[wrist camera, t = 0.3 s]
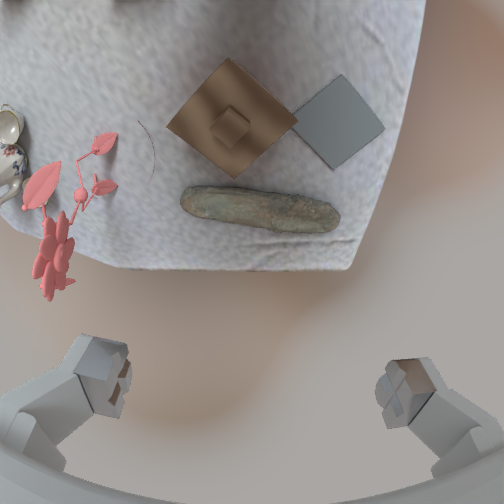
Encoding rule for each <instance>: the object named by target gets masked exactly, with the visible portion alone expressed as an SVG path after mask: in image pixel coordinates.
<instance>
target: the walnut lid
mask: <svg viewBox="0 0 504 504" xmlns="http://www.w3.org/2000/svg"><path fill="white" fill-rule="evenodd" d="M297 122H298V120H297V119H296V118H295V117H294V116H293V115H292V114H291V113H290V112H289V111H288V110H287V109H286V108H285V107H284V106H283V105H282V104H281V103H280V102H279V101H278V100H277V99H275V98H274V97H273V96H272V95H271V94H270V93H269V92H268V91H267V90H266V89H264V88H263V87H262V86H261V85H260V84H259V83H258V82H256V81H255V80H254V79H253V78H252V77H251V76H250V75H248V74H247V73H246V72H245V71H244V70H242V69H241V68H240V67H239V66H238V65H236V64H235V63H234V62H233V61H232V60H230V59H229V58H227V59H226V60H225V61H224V62H223V63H222V64H221V65H220V66H219V67H218V68H217V69H216V70H215V71H214V72H213V74H212V75H211V76H210V77H209V78H208V79H207V80H206V81H205V82H204V83H203V84H202V85H201V86H200V88H199V89H198V90H197V91H196V92H195V93H194V94H193V95H192V97H191V98H190V99H189V100H188V101H187V102H186V103H185V105H184V106H183V107H182V108H181V109H180V110H179V112H178V113H177V114H176V115H175V116H174V118H173V119H172V120H171V121H170V123H169V124H168V125H167V126H166V127H167V128H168V129H169V130H171V131H172V132H174V133H175V134H176V135H178V136H179V137H180V138H182V139H183V140H184V141H186V142H187V143H188V144H190V145H191V146H192V147H193V148H195V149H196V150H197V151H199V152H200V153H201V154H203V155H204V156H205V157H207V158H208V159H209V160H210V161H212V162H213V163H214V164H216V165H217V166H218V167H219V168H221V169H222V170H223V171H225V172H226V173H227V174H228V175H230V176H231V177H232V178H233V179H235V178H236V177H237V176H238V175H239V174H240V173H241V172H242V171H244V170H245V169H246V168H247V167H248V166H249V165H250V164H251V163H252V162H253V161H254V160H255V159H257V158H258V157H259V156H260V155H261V154H262V153H263V152H264V151H265V150H266V149H267V148H269V147H270V146H271V145H272V144H273V143H274V142H275V141H276V140H278V139H279V138H280V137H281V136H282V135H283V134H284V133H285V132H287V131H288V130H289V129H290V128H291V127H292V126H293V125H295V124H296V123H297Z"/></svg>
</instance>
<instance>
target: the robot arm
mask: <svg viewBox="0 0 504 504" xmlns="http://www.w3.org/2000/svg"><path fill="white" fill-rule="evenodd" d="M128 353H129V352H128V347H127V344H125V343H122V342H118V341H113V340H108V339H104V338H100V337H94V336H90V335H86V334H80V335H78V336H77V338H76V339H75V341H74V342H73V344H72V346H71V347H70V349H69V351H68V352H67V354H66V356H65V357H64V359H63V361H62V362H61V364H60V366H59V367H58V369H57V368H52V369H51V370H49V371H47V372H45V373H43V374H41V375H39V376H37V377H36V378H34V379H32V380H30V381H28V382H26V383H24V384H22V385H21V386H19V387H17V388H15V389H14V390H11V391H10V392H8V393H6V394H4V395H2V396H0V504H184V503H177V502H171V501H165V500H158V499H153V498H149V497H144V496H140V495H135V494H131V493H127V492H123V491H119V490H115V489H112V488H108V487H105V486H102V485H99V484H95V483H92V482H89V481H86V480H83V479H80V478H77V477H75V476H72V475H70V474H67V473H64V472H63V471H64V467H65V464H66V459H65V457H64V456H63V455H62V454H61V452H60V451H59V450H58V449H57V447H56V445H57V444H59V443H60V442H61V441H62V440H64V439H65V438H66V437H67V436H69V435H70V434H71V433H72V432H73V431H75V430H76V429H77V428H78V427H79V426H81V425H82V424H83V423H84V422H85V421H87V420H88V419H89V418H90V417H91V416H93V415H94V413H96V414H100V415H104V416H108V417H113V418H117V419H119V418H120V415H121V412H122V409H123V406H124V398H123V395H124V394H125V393H127V392H128V391H129V387H130V385H131V379H132V367H131V363H130V362H129V361H128V359H127V356H128ZM385 371H386V373H385V374H384V375H383V376H381V377H380V379H379V380H378V382H377V384H376V390H375V395H376V400H377V402H378V404H379V405H380V406H381V407H383V408H384V409H383V412H382V415H383V418H384V421H385V424H386V426H387V429H392V428H398V427H404V426H408V428H409V429H410V430H411V431H412V432H413V433H414V434H415V435H416V436H417V437H418V438H419V439H420V440H422V442H424V444H426V445H427V446H428V447H429V448H430V449H431V450H432V451H433V452H434V453H435V454H436V455H437V456H438V457H439V458H440V460H439V461H438V462H436V463H435V464H434V465H433V466H432V468H431V472H432V475H433V478H434V479H432V480H428V481H426V482H422V483H419V484H416V485H413V486H410V487H406V488H403V489H399V490H396V491H392V492H388V493H384V494H380V495H375V496H371V497H367V498H361V499H357V500H350V501H345V502H338V503H332V504H504V431H503V430H502V428H501V426H500V424H499V423H498V421H497V419H496V418H495V417H493V416H492V415H490V414H489V413H487V412H486V411H484V410H483V409H481V408H480V407H478V406H477V405H475V404H474V403H472V402H471V401H469V400H468V399H466V398H465V397H463V396H462V395H460V394H459V393H457V392H456V391H454V390H453V389H448V387H447V385H446V384H445V382H444V380H443V378H442V377H441V375H440V373H439V372H438V370H437V369H436V367H435V366H434V364H433V362H432V360H431V359H429V358H428V357H424V358H415V359H414V358H413V359H400V360H391V361H390V362H389V363H388V364H387V366H386V367H385Z"/></svg>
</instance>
